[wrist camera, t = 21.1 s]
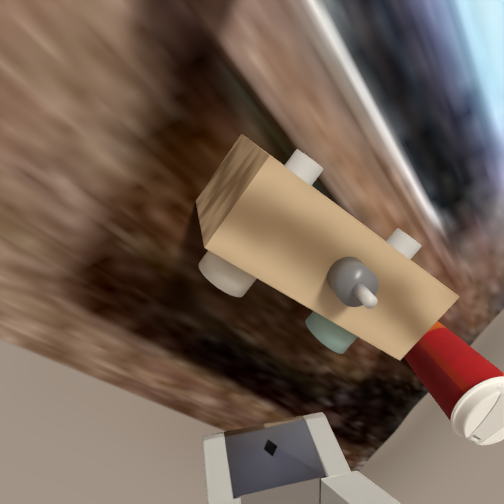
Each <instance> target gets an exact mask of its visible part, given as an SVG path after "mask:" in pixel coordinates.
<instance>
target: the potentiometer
mask: <svg viewBox="0 0 504 504" xmlns="http://www.w3.org/2000/svg"><path fill="white" fill-rule="evenodd" d="M327 281H328V284H329V286H330V287H331V288H332V290H333V291H334V292H335V294H336V295H337V296H338V298H339V299H340V300H341V301H342V303H343V304H345V305H347V306H349V307H359V306H362V305H364V306H365V307H366V308H368V309H371V308H374V307H375V306H376V305H377V302H378V300H377V298H376V297H375V295H376V293H377V290H378V285H379V283H378V279H377V277H376V275H375V274H374V273H373V272H372V271H371V270H370V269H369V268H367V267H366V266H365V265H364V264H363V263H362V262H361V261H360V260H359V259H357V258H355V257H343V258H341V259H339V260H337V261H336V262H334V263H333V264H332V266H331V267H330V269H329V271H328V274H327Z"/></svg>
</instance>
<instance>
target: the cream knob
mask: <svg viewBox="0 0 504 504" xmlns="http://www.w3.org/2000/svg"><path fill="white" fill-rule="evenodd" d="M285 167H286V168H288V169H289V170H290V171H292V172H293V173H294V174H296V175H297V176H298V177H300V178H301V179H302V180H304V181H305V182H306V183H308V184H309V185H310V186H311V185H312V184H313V183H314V181H315V180H316V179H317V177H318V176H319V175H320V173H321V172H322V171H323V168H322V167H321V166H320V165H318V164H317V163H316V162H315V161H313V160H312V159H311V158H309V157H308V156H307V155H305V154H304V153H302V152H301V151H299V150H298V149H296V151H295V152H294V153H293V155H292V156H291V157H290V159H289V160H288V162H287V163H286V164H285ZM198 266H199V269H200V271H201V272H202V274H203V275H204V276H205V277H206V278H207V280H209V281H210V282H211V283H212V284H213V285H214V286H216V287H217V288H219V289H220V290H222V291H223V292H225V293H227V294H229V295H232V296H235V297H242V296H244V294H245V293H246V292H247V290H248V289H249V288H250V286H251V285H252V284H253V283H254V281H255V280H256V279H257V278H256V277H254V276H252V275H251V274H249V273H247V272H245V271H244V270H242V269H240V268H238V267H237V266H235V265H233V264H232V263H230V262H228V261H226V260H225V259H223V258H221V257H219V256H218V255H216V254H214V253H212V252H211V251H209V250H208V251H207V253H206V254H205V255H204V257H203V258H202V260H201V261H200V262H199V264H198Z"/></svg>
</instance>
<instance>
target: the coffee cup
mask: <svg viewBox="0 0 504 504" xmlns="http://www.w3.org/2000/svg"><path fill="white" fill-rule="evenodd" d="M404 358H405V359H406V361H407V362H408V363H409V365H410V366H411V368H412V369H413V371H414V372H415V373H416V375H417V376H418V378H419V379H420V381H421V382H422V383H423V385H424V386H425V387H426V389H427V390H428V391H429V393H430V394H431V395H432V397H433V398H434V399H435V401H436V402H437V403H438V405H439V406H440V407H441V409H442V410H443V411H444V413H445V414H446V416H447V417H448V418H449V420H450V423H451V427H452V429H453V430H454V432H455V433H456V434H458V435H459V436H461V437H464V438H466V439H468V440H470V441H472V442H474V443H477V444H479V445H489V444H493V443H496V442H499V441H501V440H503V439H504V373H503V372H502V371H500V370H499V369H498V368H497V367H495V366H494V365H493V364H491V363H490V362H489V361H488V360H486V359H485V358H484V357H483V356H481V355H480V354H479V353H478V352H476V351H475V350H474V349H473V348H471V347H470V346H469V345H468V344H466V343H465V342H464V341H463V340H461V339H460V338H459V337H457V336H456V335H455V334H454V333H452V332H451V331H450V330H449V329H447V328H446V327H445V326H443V325H442V324H441V323H440V322H438V321H437V322H436V323H435V324H434V325H433V326H432V327H431V328H430V329H429V330H428V331H427V332H426V333H425V334H424V335H423V336H422V338H421V339H420V340H419V341H418V342H417V343H416V344H415V345H414V346H413V347H412V348H411V349H410V350H409V351H408V352H407V354H406V355H405V356H404Z"/></svg>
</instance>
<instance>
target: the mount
mask: <svg viewBox="0 0 504 504" xmlns="http://www.w3.org/2000/svg"><path fill="white" fill-rule="evenodd" d="M196 205H197V211H198V216H199V221H200V227H201V232H202V237H203V243H204V248H206V249H207V250H209V251H211V252H212V253H214V254H216V255H218V256H219V257H221V258H223V259H225V260H226V261H228V262H230V263H232V264H233V265H235V266H237V267H238V268H240V269H242V270H244V271H245V272H247V273H249V274H251V275H252V276H254V277H256V278H258V279H259V280H261V281H263V282H264V283H266V284H268V285H270V286H271V287H273V288H275V289H277V290H278V291H280V292H282V293H284V294H285V295H287V296H289V297H290V298H292V299H294V300H296V301H297V302H299V303H301V304H303V305H304V306H306V307H308V308H310V309H311V310H313V311H315V312H316V313H318V314H320V315H322V316H323V317H325V318H327V319H329V320H330V321H332V322H334V323H336V324H337V325H339V326H341V327H342V328H344V329H346V330H348V331H349V332H351V333H353V334H355V335H356V336H358V337H360V338H362V339H363V340H365V341H367V342H368V343H370V344H372V345H374V346H375V347H377V348H379V349H381V350H382V351H384V352H386V353H388V354H389V355H391V356H393V357H394V358H396V359H398V360H401V359H402V358H403V357H404V356H405V355H406V354H407V352H408V351H409V350H410V349H411V348H412V347H413V346H414V345H415V344H416V343H417V342H418V341H419V340H420V339H421V338H422V336H423V335H424V334H425V333H426V332H427V331H428V330H429V329H430V328H431V327H432V326H433V325H434V324H435V323H436V322H437V321H438V319H439V318H440V317H441V316H442V315H443V314H444V313H445V312H446V311H447V310H448V309H449V308H450V307H451V306H452V305H453V304H454V302H455V301H456V300H457V299H458V298H459V296H458V295H457V294H455V293H454V292H453V291H451V290H450V289H449V288H447V287H446V286H445V285H443V284H442V283H441V282H439V281H438V280H437V279H435V278H434V277H433V276H431V275H430V274H429V273H427V272H426V271H425V270H423V269H422V268H421V267H420V266H418V265H417V264H416V263H414V262H413V261H412V260H410V259H409V258H407V257H406V256H404V255H403V254H402V253H400V252H399V251H398V250H396V249H395V248H394V247H392V246H391V245H390V244H388V243H387V242H386V241H385V240H384V239H382V238H381V237H380V236H378V235H377V234H376V233H374V232H373V231H371V230H370V229H369V228H367V227H366V226H365V225H363V224H362V223H361V222H359V221H358V220H357V219H355V218H354V217H353V216H351V215H350V214H349V213H347V212H346V211H345V210H343V209H342V208H341V207H339V206H338V205H337V204H335V203H334V202H333V201H331V200H330V199H329V198H327V197H326V196H324V195H323V194H322V193H320V192H319V191H318V190H316V189H315V188H314V187H312V186H310V185H309V184H308V183H306V182H305V181H304V180H302V179H301V178H300V177H298V176H297V175H296V174H294V173H293V172H292V171H290V170H289V169H288V168H286V167H285V166H284V165H283V164H282V163H280V162H279V161H277V160H276V159H275V158H273V157H272V156H271V155H269V154H268V153H267V152H265V151H264V150H263V149H261V148H260V147H259V146H257V145H256V144H255V143H253V142H252V141H251V140H249V139H248V138H247V137H245V136H244V135H243V134H241V135H240V137H239V138H238V140H237V141H236V142H235V144H234V145H233V147H232V148H231V150H230V151H229V153H228V154H227V156H226V157H225V159H224V160H223V162H222V163H221V165H220V166H219V168H218V169H217V171H216V172H215V174H214V175H213V176H212V178H211V179H210V181H209V182H208V184H207V185H206V187H205V188H204V190H203V191H202V193H201V194H200V196H199V197H198V199H197V200H196ZM343 257H355V258H357V259H359V260H360V261H361V262H362V263H363V264H364V265H365V266H366V267H367V268H369V269H370V270H371V271H372V272H373V273H374V274H375V275H376V277H377V279H378V283H379V285H378V290H377V293H376V295H375V297H376V298H377V300H378V302H377V305H376V306H375V307H374V308H371V309H368V308H366V307H365V306H364V305H362V306H359V307H349V306H347V305H345V304H343V303H342V301H341V300H340V299H339V298H338V296H337V295H336V294H335V292H334V291H333V290H332V288H331V287H330V286H329V284H328V281H327V274H328V271H329V269H330V267H331V266H332V264H333V263H334V262H336V261H337V260H339V259H341V258H343Z"/></svg>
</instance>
